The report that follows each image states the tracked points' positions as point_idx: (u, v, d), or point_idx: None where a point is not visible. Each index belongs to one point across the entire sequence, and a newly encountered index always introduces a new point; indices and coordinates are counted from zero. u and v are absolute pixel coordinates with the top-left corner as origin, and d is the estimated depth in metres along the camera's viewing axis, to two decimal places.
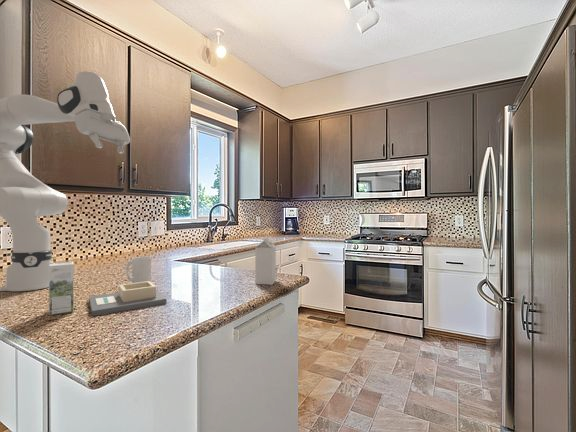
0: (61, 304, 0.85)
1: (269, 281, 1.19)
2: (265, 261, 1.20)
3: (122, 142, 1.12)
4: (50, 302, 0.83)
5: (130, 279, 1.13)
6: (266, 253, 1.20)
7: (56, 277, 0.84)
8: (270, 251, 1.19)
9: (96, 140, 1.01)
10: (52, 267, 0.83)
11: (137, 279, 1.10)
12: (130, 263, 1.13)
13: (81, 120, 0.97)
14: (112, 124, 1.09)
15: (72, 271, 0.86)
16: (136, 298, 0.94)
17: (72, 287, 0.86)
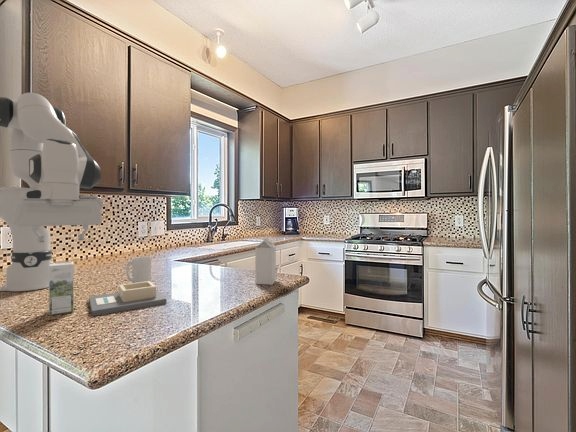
0: (61, 304, 0.85)
1: (269, 281, 1.19)
2: (265, 261, 1.20)
3: (85, 226, 0.89)
4: (50, 302, 0.83)
5: (130, 279, 1.13)
6: (266, 253, 1.20)
7: (56, 277, 0.84)
8: (270, 251, 1.19)
9: (35, 234, 0.83)
10: (52, 267, 0.83)
11: (137, 279, 1.10)
12: (130, 263, 1.13)
13: None
14: (71, 206, 0.87)
15: (72, 271, 0.86)
16: (136, 298, 0.94)
17: (72, 287, 0.86)
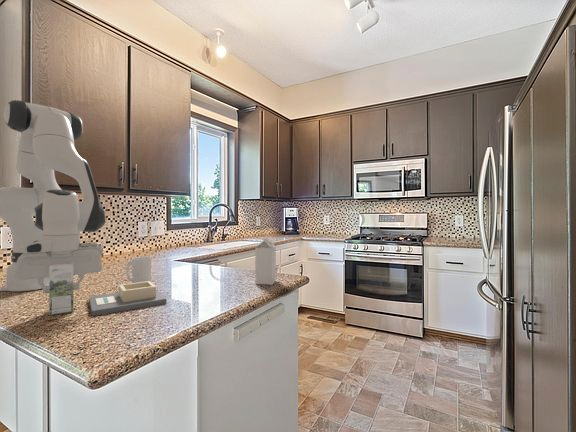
0: (61, 304, 0.85)
1: (269, 281, 1.19)
2: (265, 261, 1.20)
3: (80, 275, 0.89)
4: (50, 302, 0.83)
5: (130, 279, 1.13)
6: (266, 253, 1.20)
7: (56, 277, 0.84)
8: (270, 251, 1.19)
9: (41, 286, 0.84)
10: (52, 267, 0.83)
11: (137, 279, 1.10)
12: (130, 263, 1.13)
13: None
14: (72, 256, 0.87)
15: (72, 271, 0.86)
16: (136, 298, 0.94)
17: (72, 287, 0.86)
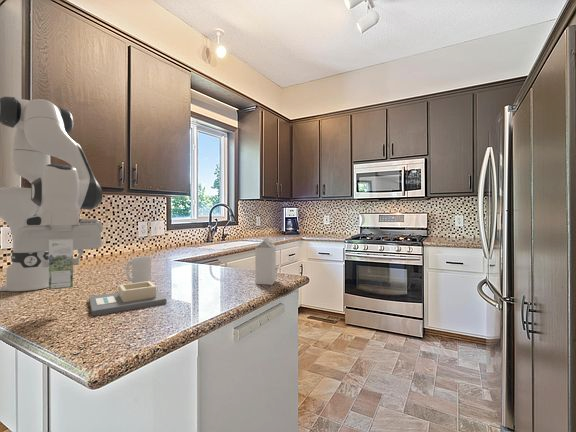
0: (61, 278, 0.85)
1: (269, 281, 1.19)
2: (265, 261, 1.20)
3: (80, 251, 0.89)
4: (49, 276, 0.83)
5: (130, 279, 1.13)
6: (266, 253, 1.20)
7: (55, 252, 0.84)
8: (270, 251, 1.19)
9: (41, 260, 0.84)
10: (52, 241, 0.83)
11: (137, 279, 1.10)
12: (130, 263, 1.13)
13: None
14: (71, 231, 0.87)
15: (72, 246, 0.86)
16: (136, 298, 0.94)
17: (72, 262, 0.86)
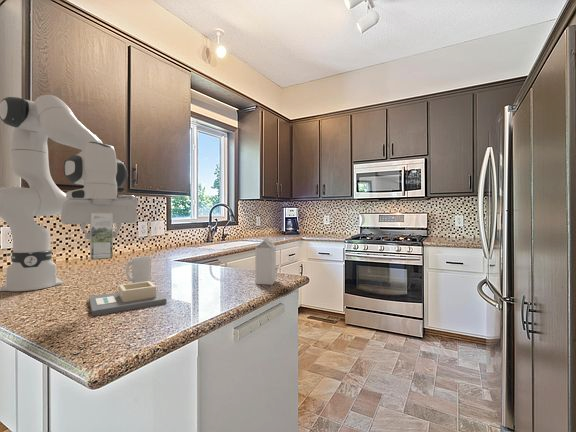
0: (102, 249, 0.90)
1: (269, 281, 1.19)
2: (265, 261, 1.20)
3: (118, 224, 0.94)
4: (92, 247, 0.89)
5: (130, 279, 1.13)
6: (266, 253, 1.20)
7: (97, 224, 0.89)
8: (270, 251, 1.19)
9: (83, 231, 0.89)
10: (94, 214, 0.89)
11: (137, 279, 1.10)
12: (130, 263, 1.13)
13: (61, 211, 0.86)
14: (111, 205, 0.92)
15: (111, 220, 0.91)
16: (136, 298, 0.94)
17: (111, 235, 0.91)
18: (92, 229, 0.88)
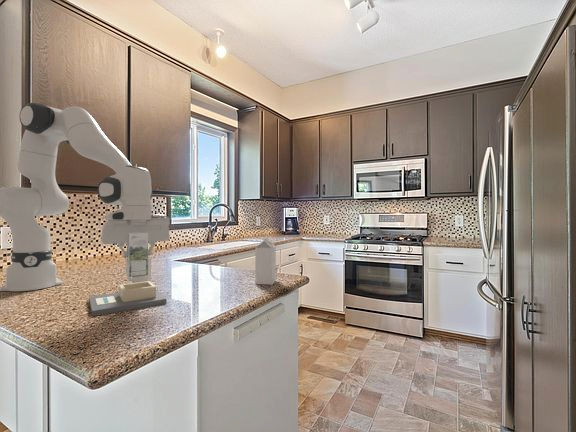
0: (139, 267, 0.96)
1: (269, 281, 1.19)
2: (265, 261, 1.20)
3: (152, 243, 1.00)
4: (130, 265, 0.94)
5: (130, 279, 1.13)
6: (266, 253, 1.20)
7: (134, 244, 0.95)
8: (270, 251, 1.19)
9: (121, 250, 0.95)
10: (131, 234, 0.94)
11: (137, 279, 1.10)
12: None
13: (102, 232, 0.92)
14: (146, 225, 0.98)
15: (147, 239, 0.97)
16: (136, 298, 0.94)
17: (147, 253, 0.97)
18: (130, 248, 0.94)
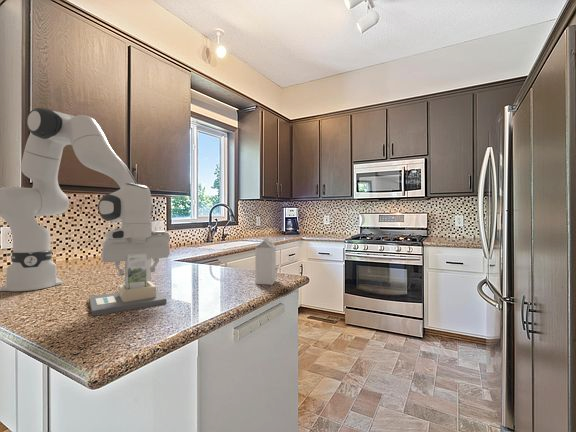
0: None
1: (269, 281, 1.19)
2: (265, 261, 1.20)
3: (156, 260, 1.01)
4: (128, 287, 0.94)
5: None
6: (266, 253, 1.20)
7: (133, 265, 0.95)
8: (270, 251, 1.19)
9: None
10: (130, 256, 0.94)
11: None
12: None
13: (102, 250, 0.92)
14: (146, 242, 0.98)
15: (145, 260, 0.97)
16: (136, 298, 0.94)
17: (145, 274, 0.97)
18: (128, 270, 0.94)
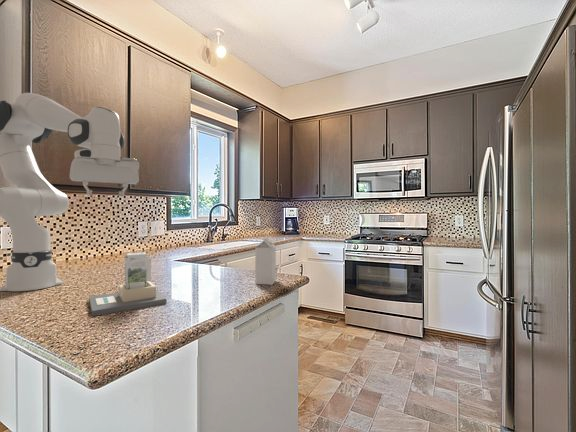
0: None
1: (269, 281, 1.19)
2: (265, 261, 1.20)
3: (125, 184, 1.04)
4: (128, 287, 0.94)
5: None
6: (266, 253, 1.20)
7: (133, 265, 0.95)
8: (270, 251, 1.19)
9: (85, 188, 0.97)
10: (130, 256, 0.94)
11: None
12: None
13: (70, 169, 0.95)
14: (114, 166, 1.01)
15: (145, 260, 0.97)
16: (136, 298, 0.94)
17: (145, 274, 0.97)
18: (128, 270, 0.94)
